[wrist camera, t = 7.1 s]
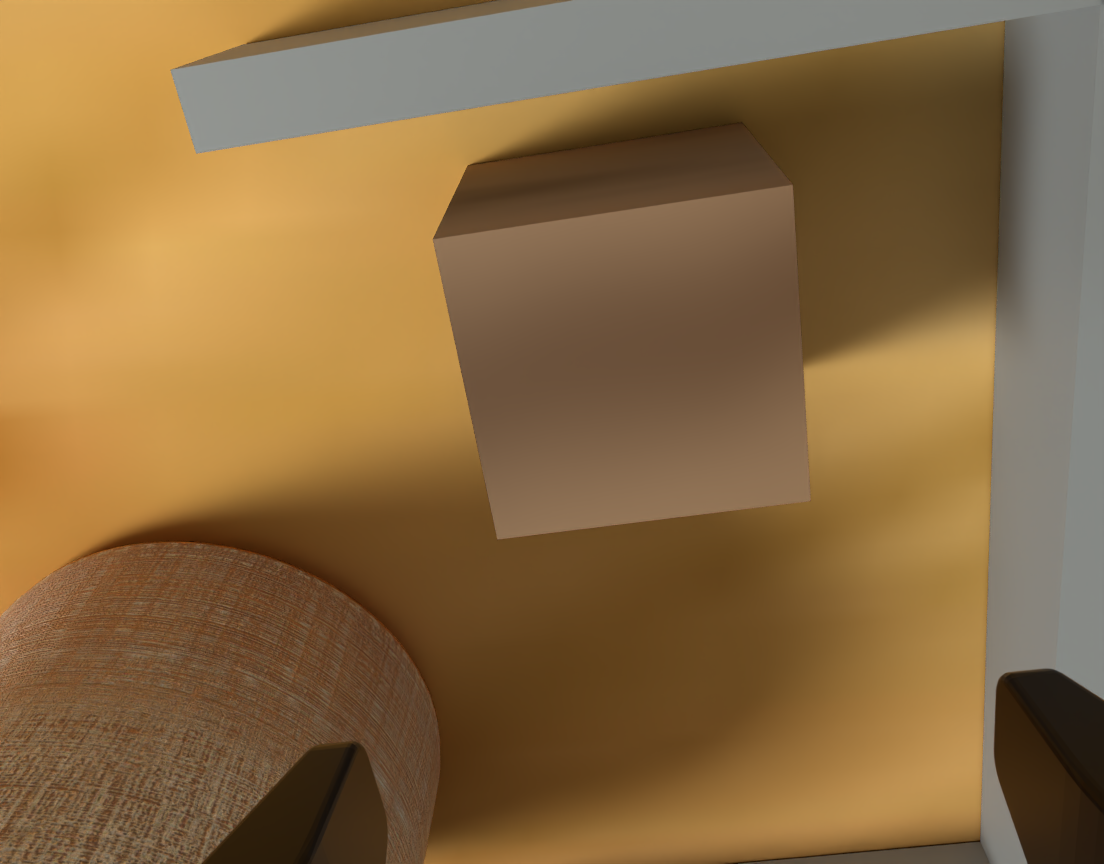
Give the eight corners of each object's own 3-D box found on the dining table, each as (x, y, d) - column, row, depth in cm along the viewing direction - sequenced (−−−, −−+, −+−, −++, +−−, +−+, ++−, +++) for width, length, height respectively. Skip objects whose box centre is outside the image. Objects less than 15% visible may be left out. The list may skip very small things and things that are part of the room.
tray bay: (1027, 870, 26) (1087, 998, 23) (484, 918, 28) (471, 1045, 24) (1084, -103, 17) (1202, -109, 13) (242, 45, 18) (171, 70, 15)
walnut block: (760, 375, 21) (810, 500, 16) (514, 408, 21) (497, 539, 17) (741, 122, 18) (793, 184, 14) (468, 164, 19) (432, 239, 14)
